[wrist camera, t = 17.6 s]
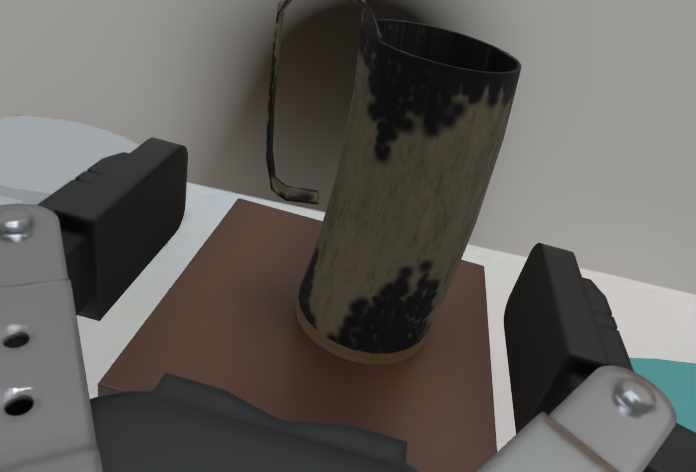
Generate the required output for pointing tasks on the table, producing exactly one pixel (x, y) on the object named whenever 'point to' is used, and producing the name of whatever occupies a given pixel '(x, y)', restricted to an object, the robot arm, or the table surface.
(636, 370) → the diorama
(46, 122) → the robot toy
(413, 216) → the mug
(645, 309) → the table surface
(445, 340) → the walnut block
